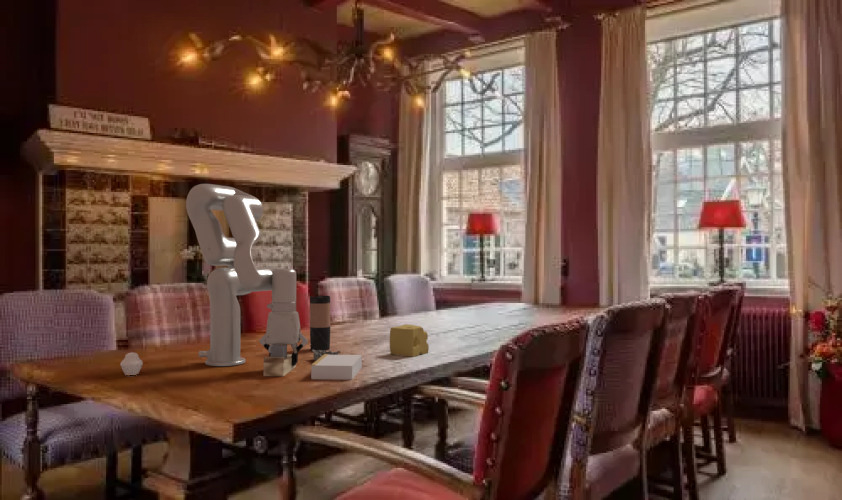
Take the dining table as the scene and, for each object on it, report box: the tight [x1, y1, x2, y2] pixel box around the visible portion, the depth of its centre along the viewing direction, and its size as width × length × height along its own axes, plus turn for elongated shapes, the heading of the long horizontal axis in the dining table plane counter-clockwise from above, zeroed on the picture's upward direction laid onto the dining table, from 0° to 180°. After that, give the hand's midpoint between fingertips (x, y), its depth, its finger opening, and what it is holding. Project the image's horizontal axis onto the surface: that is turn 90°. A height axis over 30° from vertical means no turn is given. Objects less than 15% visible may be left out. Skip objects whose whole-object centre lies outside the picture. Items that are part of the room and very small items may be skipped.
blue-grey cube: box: [270, 345, 288, 359], centre depth 199 cm, size 4×4×4 cm
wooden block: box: [263, 353, 297, 377], centre depth 199 cm, size 6×15×6 cm, turn 177°
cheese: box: [389, 323, 430, 358], centre depth 233 cm, size 10×11×10 cm
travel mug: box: [309, 295, 331, 351], centre depth 243 cm, size 8×8×20 cm
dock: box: [310, 354, 363, 381], centre depth 197 cm, size 12×19×4 cm, turn 177°
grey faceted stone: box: [120, 351, 144, 376], centre depth 193 cm, size 6×6×7 cm
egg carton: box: [312, 349, 341, 361], centre depth 219 cm, size 11×8×4 cm
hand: (283, 364), depth 203 cm, fingers closed on wooden block, 6 cm apart
